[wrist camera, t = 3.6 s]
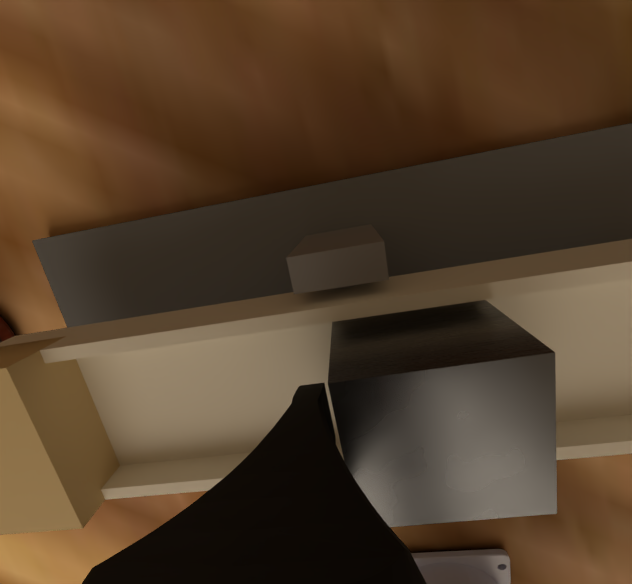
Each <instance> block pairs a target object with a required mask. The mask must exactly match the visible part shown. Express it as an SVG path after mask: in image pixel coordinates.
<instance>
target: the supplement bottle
mask: <svg viewBox="0 0 632 584" xmlns="http://www.w3.org/2000/svg"><path fill="white" fill-rule="evenodd" d="M14 336H15V335H14V333H13V332H12V330H11V328H10V327H9V326H8V325H7V323H6V322H5V321H4V320H3V319H2V318H1V317H0V342H2V341H5V340H7V339H9V338H11V337H14Z"/></svg>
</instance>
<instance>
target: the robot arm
mask: <svg viewBox="0 0 632 584" xmlns="http://www.w3.org/2000/svg"><path fill="white" fill-rule="evenodd" d="M82 584H511V573H510V558H509V556H508V554H507V552H506V551H505V550H503V549H484V550H464V551H443V552H423V553H411V552H410V550H409V549H408V548H407V547H406V546H405V544H404V543H403V542H402V541H401V540H400V539H399V538H398V537H397V535H396V534H395V533H394V532H393V531H392V529H391V528H390V527H389V526H388V525H387V523H386V522H385V521H384V520H383V518H382V517H381V516H380V515H379V513H378V512H377V511H376V509H375V508H374V507H373V505H372V504H371V503H370V501H369V500H368V498H367V497H366V495H365V494H364V492H363V491H362V489H361V488H360V486H359V485H358V484H357V482H356V481H355V479H354V477H353V476H352V474H351V472H350V471H349V469H348V467H347V465H346V464H345V462H344V460H343V458H342V456H341V454H340V452H339V450H338V448H337V446H336V436H335V432H334V427H333V422H332V417H331V412H330V408H329V403H328V398H327V393H326V388H325V384H324V383H317V384H309V385H301V386H299V387H298V389H297V390H296V392H295V394H294V396H293V399H292V403H291V405H290V406H289V408H288V409H287V410H286V412H285V413H284V414H283V415H282V417H281V418H280V419H279V421H278V422H277V423H276V424H275V426H274V427H273V428H272V429H271V431H270V432H269V433H268V434H267V435H266V436H265V437H264V439H263V440H262V441H261V442H260V443H259V444H258V446H257V447H256V448H255V449H254V450H253V451H252V452H251V453H250V454H249V455H248V456H247V457H246V458H245V459H244V460H243V461H242V462H241V463H240V464H239V465H238V466H237V467H236V468H234V469H233V470H232V471H231V472H230V473H229V474H228V475H227V476H226V477H225V478H223V479H222V480H221V481H220V482H218V483H217V484H216V485H215V486H214V487H212V488H211V489H210V490H209V491H208V492H206V493H205V494H204V495H203V496H201V497H200V498H199V499H198V500H197V501H195V502H194V503H193V504H191V505H190V506H189V507H187V508H186V509H184V510H183V511H182V512H180V513H179V514H178V515H176V516H175V517H173V518H172V519H170V520H169V521H167V522H166V523H165V524H163V525H162V526H160V527H159V528H157V529H156V530H154V531H153V532H151V533H150V534H148V535H147V536H145V537H143V538H142V539H140V540H138V541H137V542H135V543H134V544H132V545H130V546H129V547H127V548H125V549H124V550H122V551H120V552H119V553H117V554H115V555H114V556H112V557H110V558H109V559H107V560H105V561H104V562H102V563H100V564H98V565H97V566H95V567H93V568H92V569H91V571H90V572H89V574H88V575H87V577H86V578H85V580H84V581H83V583H82Z"/></svg>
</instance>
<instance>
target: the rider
mask: <svg viewBox="0 0 632 584" xmlns="http://www.w3.org/2000/svg"><path fill="white" fill-rule="evenodd" d="M328 387H329V392H330V397H331V401H332V406H333V411H334V415H335V420H336V425H337V430H338V434H339V439H340V444H341V448H342V453H343V458H344V462H345V464H346V465H347V467H348V469H349V471H350V472H351V474H352V476H353V477H354V479H355V481H356V482H357V484H358V485H359V486H360V488H361V489H362V491H363V492H364V494H365V495H366V497H367V498H368V500H369V501H370V503H371V504H372V505H373V507H374V508H375V509H376V511H377V512H378V513H379V515H380V516H381V517H382V518H383V520H384V521H385V522H386V523H387V525H388V526H389V527H399V526H411V525H423V524H436V523H448V522H460V521H472V520H484V519H497V518H509V517H521V516H533V515H546V514H557V471H556V374H555V352H554V351H553V350H551V349H550V348H549V347H547V346H546V345H545V344H543V343H542V342H541V341H539V340H538V339H537V338H535V337H534V336H533V335H531V334H530V333H529V332H527V331H526V330H525V329H523V328H522V327H521V326H519V325H518V324H517V323H515V322H514V321H513V320H512V319H510V318H509V317H508V316H506V315H505V314H504V313H502V312H501V311H500V310H498V309H497V308H496V307H494V306H493V305H492V304H490V303H489V302H488V301H486V300H480V301H474V302H467V303H460V304H453V305H446V306H439V307H432V308H425V309H418V310H411V311H404V312H397V313H391V314H384V315H377V316H370V317H363V318H356V319H349V320H342V321H335V322H332V331H331V345H330V359H329V373H328Z"/></svg>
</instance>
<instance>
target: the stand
mask: <svg viewBox="0 0 632 584" xmlns="http://www.w3.org/2000/svg"><path fill="white" fill-rule="evenodd" d="M626 239H632V123H630V124H625V125H620V126H614V127H609V128H604V129H599V130H594V131H589V132H584V133H579V134H574V135H569V136H563V137H558V138H553V139H548V140H543V141H538V142H533V143H528V144H523V145H518V146H512V147H507V148H502V149H497V150H492V151H487V152H482V153H477V154H472V155H467V156H461V157H456V158H451V159H446V160H441V161H436V162H431V163H426V164H421V165H415V166H410V167H405V168H400V169H395V170H390V171H385V172H380V173H375V174H370V175H364V176H359V177H354V178H349V179H344V180H339V181H334V182H329V183H324V184H319V185H313V186H308V187H303V188H298V189H293V190H288V191H283V192H278V193H273V194H268V195H262V196H257V197H252V198H247V199H242V200H237V201H232V202H227V203H222V204H217V205H211V206H206V207H201V208H196V209H191V210H186V211H181V212H176V213H171V214H165V215H160V216H155V217H150V218H145V219H140V220H135V221H130V222H125V223H120V224H114V225H109V226H104V227H99V228H94V229H89V230H84V231H79V232H74V233H69V234H63V235H58V236H53V237H48V238H43V239H38V240H33V241H32V242H33V244H34V247H35V249H36V252H37V254H38V256H39V259H40V261H41V264H42V266H43V269H44V271H45V274H46V276H47V278H48V281H49V283H50V286H51V288H52V291H53V293H54V296H55V298H56V301H57V303H58V305H59V308H60V310H61V313H62V315H63V318H64V320H65V323H66V325H67V327H68V328H69V327H75V326H81V325H88V324H94V323H100V322H107V321H113V320H119V319H126V318H132V317H138V316H145V315H151V314H157V313H164V312H170V311H176V310H183V309H189V308H195V307H202V306H208V305H214V304H221V303H227V302H233V301H240V300H246V299H253V298H259V297H265V296H272V295H278V294H284V293H291V292H294V294H300V293H307V292H313V291H319V290H326V289H332V288H339V287H345V286H352V285H358V284H365V283H371V282H378V281H384V280H389V277H392V276H398V275H405V274H411V273H417V272H424V271H430V270H436V269H443V268H449V267H455V266H462V265H468V264H474V263H481V262H487V261H493V260H500V259H506V258H512V257H519V256H525V255H531V254H538V253H544V252H550V251H557V250H563V249H569V248H576V247H582V246H588V245H595V244H601V243H607V242H614V241H620V240H626Z"/></svg>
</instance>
